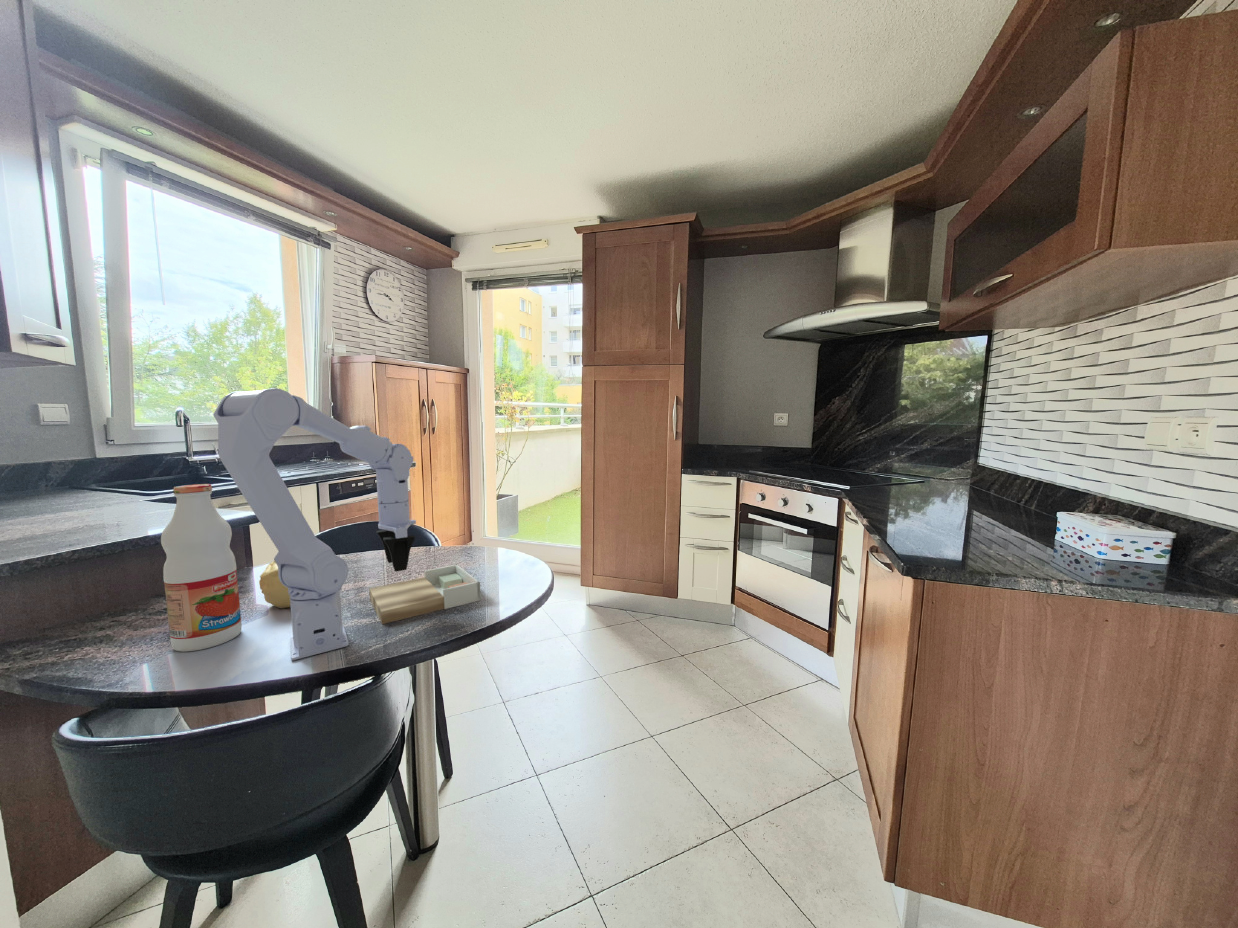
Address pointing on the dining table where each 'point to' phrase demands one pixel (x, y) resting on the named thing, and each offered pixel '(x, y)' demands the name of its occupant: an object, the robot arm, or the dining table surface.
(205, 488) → the fruit juice
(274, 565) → the sculpture
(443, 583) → the tile
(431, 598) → the board
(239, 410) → the robot arm
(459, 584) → the tile
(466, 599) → the tray
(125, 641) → the dining table surface
